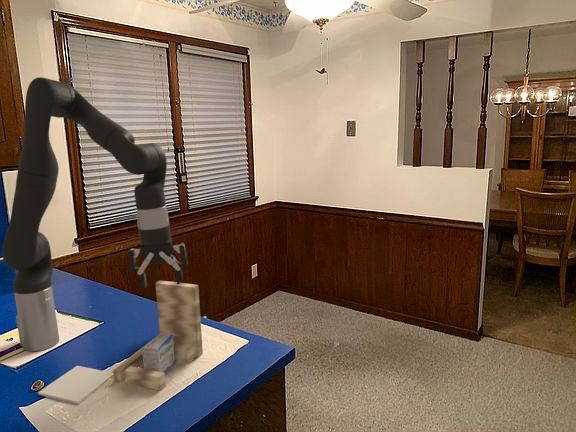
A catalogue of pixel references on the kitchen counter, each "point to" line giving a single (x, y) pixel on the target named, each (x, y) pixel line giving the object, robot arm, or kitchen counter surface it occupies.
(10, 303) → the kitchen counter surface
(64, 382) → the grey mat
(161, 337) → the medicine box
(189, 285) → the slotted stand
